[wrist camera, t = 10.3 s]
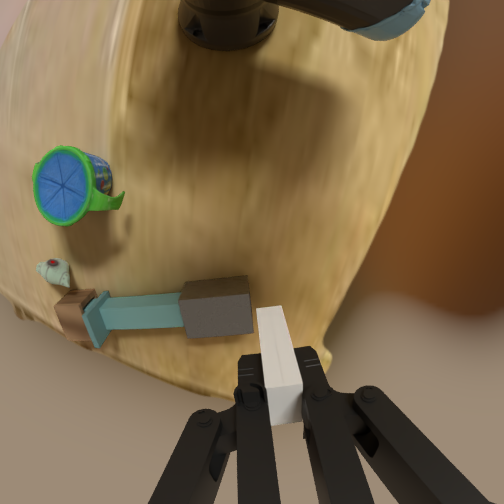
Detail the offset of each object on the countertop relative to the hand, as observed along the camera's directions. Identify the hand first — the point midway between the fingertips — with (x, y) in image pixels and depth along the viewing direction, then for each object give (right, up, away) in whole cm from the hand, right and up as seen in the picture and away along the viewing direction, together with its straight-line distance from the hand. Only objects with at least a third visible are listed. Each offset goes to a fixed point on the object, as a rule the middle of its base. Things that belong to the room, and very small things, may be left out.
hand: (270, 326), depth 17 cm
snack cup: (-26, +16, +22) cm, 37 cm away
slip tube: (-20, -4, +28) cm, 35 cm away
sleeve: (-6, -3, +28) cm, 29 cm away
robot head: (-35, +3, +26) cm, 43 cm away
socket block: (-32, -6, +28) cm, 43 cm away
